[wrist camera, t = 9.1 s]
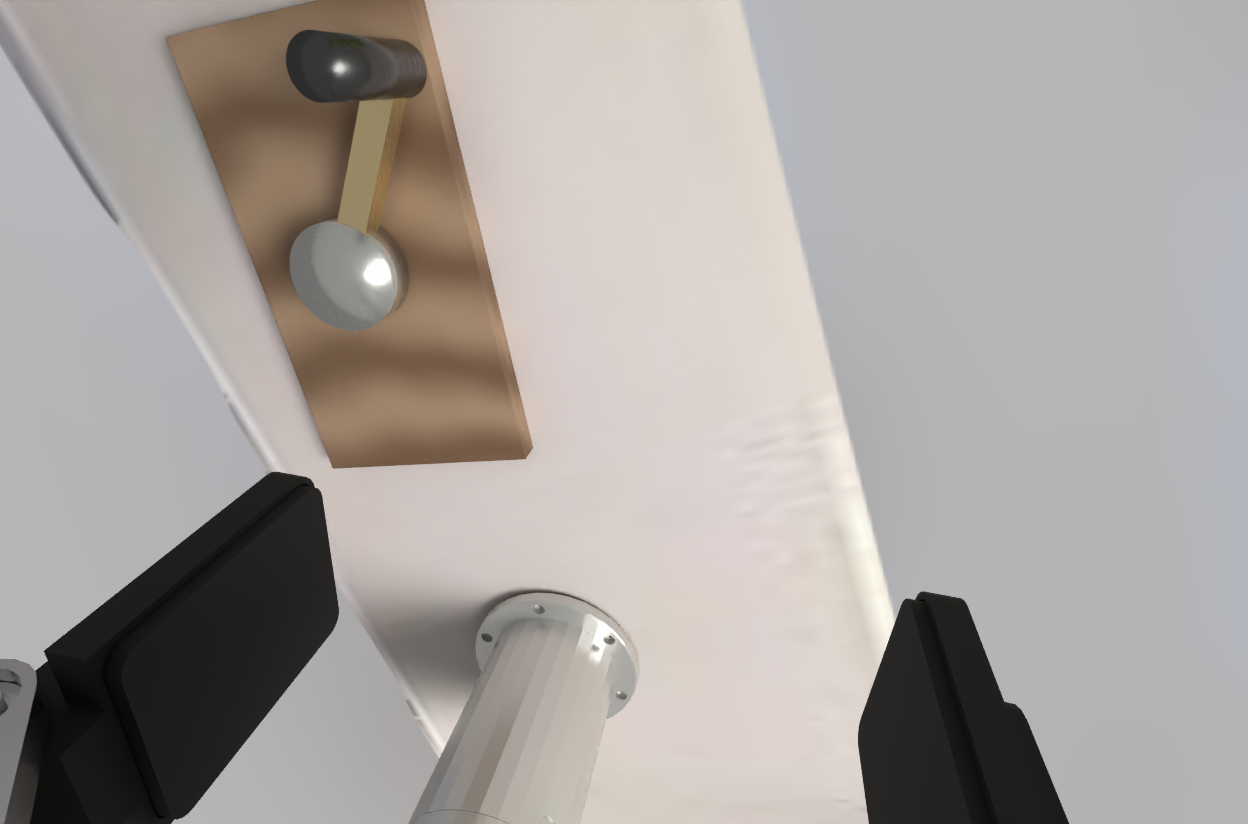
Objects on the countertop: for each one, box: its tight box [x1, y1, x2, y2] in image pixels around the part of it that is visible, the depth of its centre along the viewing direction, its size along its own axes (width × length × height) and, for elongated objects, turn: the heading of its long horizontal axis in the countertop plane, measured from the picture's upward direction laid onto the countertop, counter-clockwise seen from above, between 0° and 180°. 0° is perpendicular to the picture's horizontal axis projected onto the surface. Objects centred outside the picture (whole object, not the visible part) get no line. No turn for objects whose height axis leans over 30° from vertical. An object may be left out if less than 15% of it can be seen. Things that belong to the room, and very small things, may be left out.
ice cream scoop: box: [286, 30, 427, 331], centre depth 33 cm, size 15×6×7 cm, turn 158°
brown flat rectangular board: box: [166, 0, 533, 468], centre depth 39 cm, size 26×14×2 cm, turn 9°
